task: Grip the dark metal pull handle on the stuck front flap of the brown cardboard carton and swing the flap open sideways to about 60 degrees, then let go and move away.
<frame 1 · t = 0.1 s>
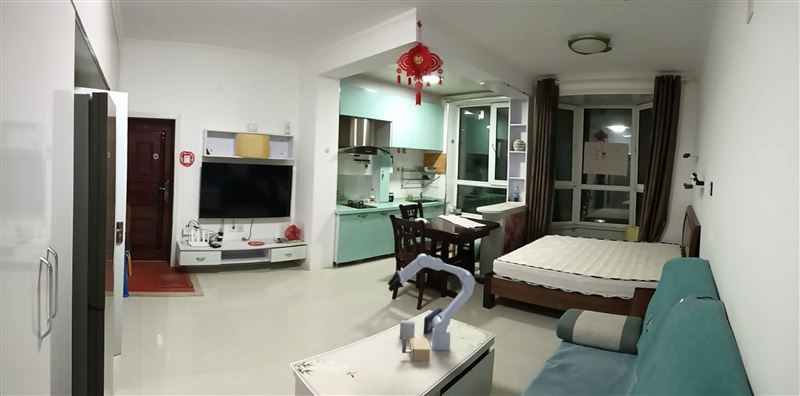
hand: (389, 287, 207), 32 cm above the table, tool tilted 50°, fingers open, 7 cm apart
medicine box: (406, 337, 222), on the table
carton flap: (406, 345, 201), point 5 cm above the table, hinge at 0.0°
vhs cassette tape: (432, 329, 234), on the table
carton: (419, 354, 202), on the table
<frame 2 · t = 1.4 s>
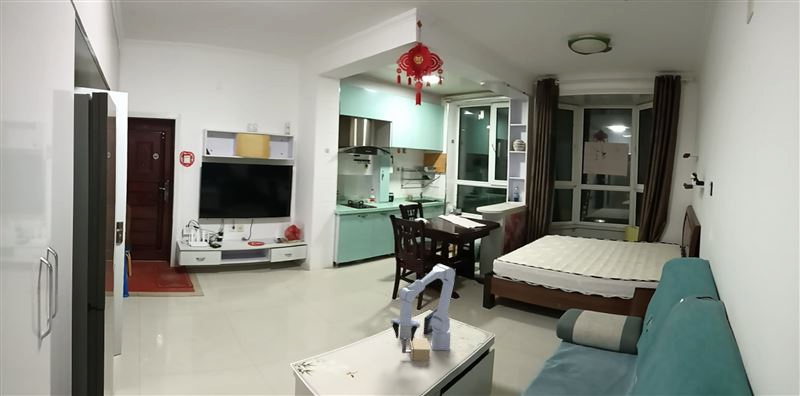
hand: (404, 338, 198), 10 cm above the table, tool pointing down, fingers open, 7 cm apart
nothing on the table moved.
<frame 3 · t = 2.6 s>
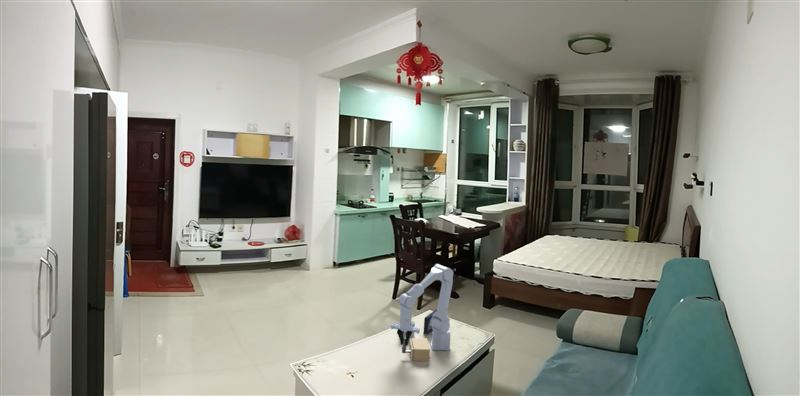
hand: (404, 344, 198), 7 cm above the table, tool pointing down, fingers closed on carton flap, 2 cm apart
carton flap: (406, 345, 201), point 5 cm above the table, hinge at 0.0°, touching gripper
everything else where it was.
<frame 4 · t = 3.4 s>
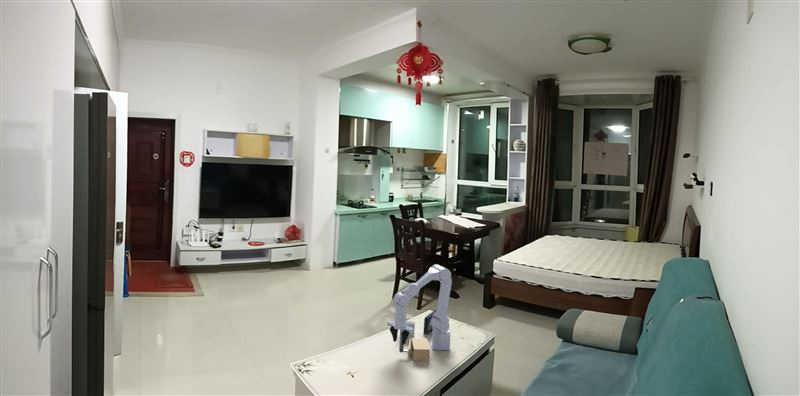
hand: (399, 342, 200), 7 cm above the table, tool pointing down, fingers open, 5 cm apart
carton flap: (405, 344, 202), point 5 cm above the table, hinge at 8.5°, touching gripper
everything else where it was.
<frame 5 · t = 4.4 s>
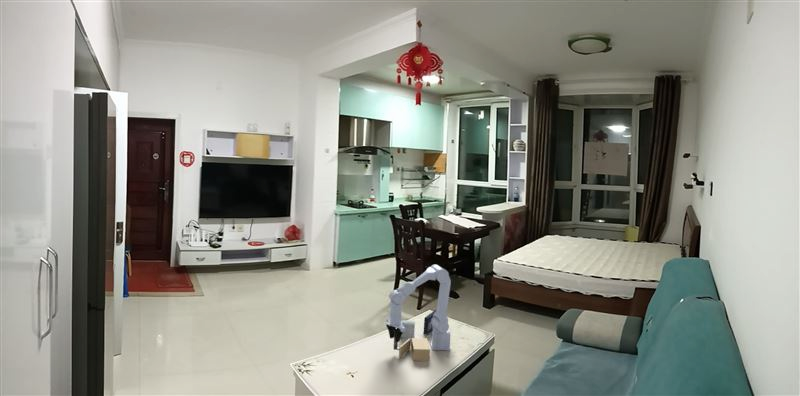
hand: (394, 339, 203), 7 cm above the table, tool pointing down, fingers open, 4 cm apart
carton flap: (401, 342, 203), point 5 cm above the table, hinge at 31.4°, touching gripper
everything else where it was.
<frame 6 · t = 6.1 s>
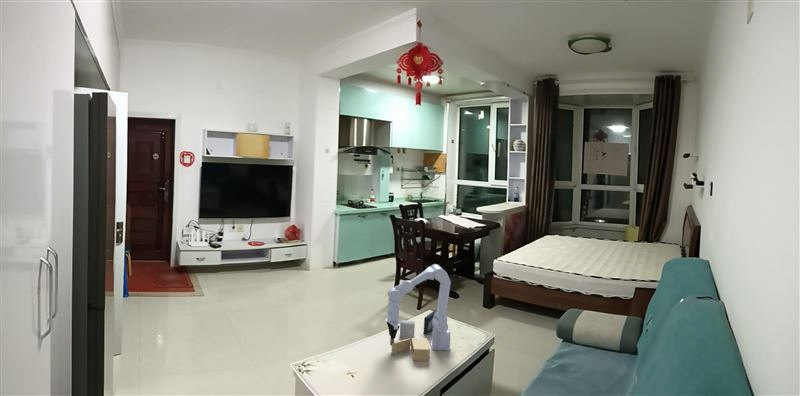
hand: (392, 336, 206), 7 cm above the table, tool pointing down, fingers open, 3 cm apart
carton flap: (398, 340, 206), point 5 cm above the table, hinge at 56.5°, touching gripper
everything else where it was.
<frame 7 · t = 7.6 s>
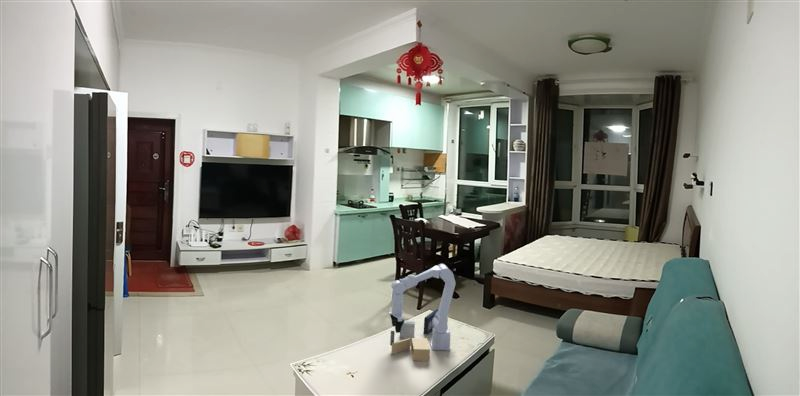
hand: (396, 329, 207), 10 cm above the table, tool pointing down, fingers open, 7 cm apart
carton flap: (398, 340, 206), point 5 cm above the table, hinge at 56.7°
everything else where it was.
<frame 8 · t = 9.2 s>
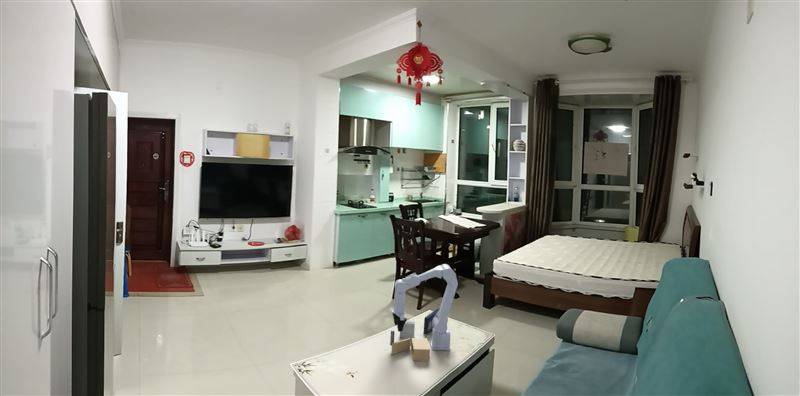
hand: (398, 328, 209), 10 cm above the table, tool pointing down, fingers open, 7 cm apart
nothing on the table moved.
at the end: carton flap at +57° (first picture: +0°); the gripper is holding nothing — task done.
